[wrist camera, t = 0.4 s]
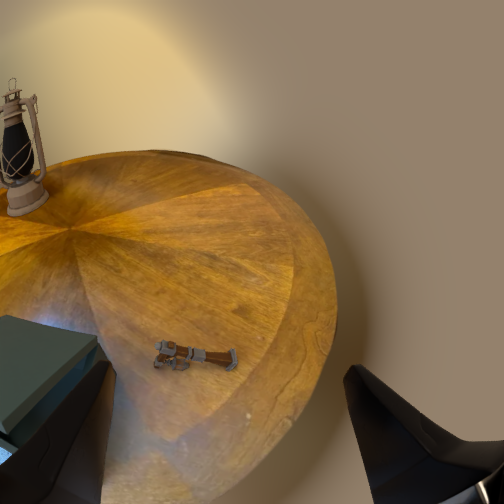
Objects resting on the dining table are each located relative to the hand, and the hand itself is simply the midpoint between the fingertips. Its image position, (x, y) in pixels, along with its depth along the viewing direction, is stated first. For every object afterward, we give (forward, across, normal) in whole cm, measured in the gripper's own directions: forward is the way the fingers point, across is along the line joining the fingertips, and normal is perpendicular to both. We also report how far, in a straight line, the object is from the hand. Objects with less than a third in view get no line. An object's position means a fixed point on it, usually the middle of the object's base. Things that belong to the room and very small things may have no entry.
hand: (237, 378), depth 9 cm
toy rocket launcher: (+12, +1, +15) cm, 19 cm away
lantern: (+47, +44, +11) cm, 65 cm away
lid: (+3, +16, +7) cm, 18 cm away
